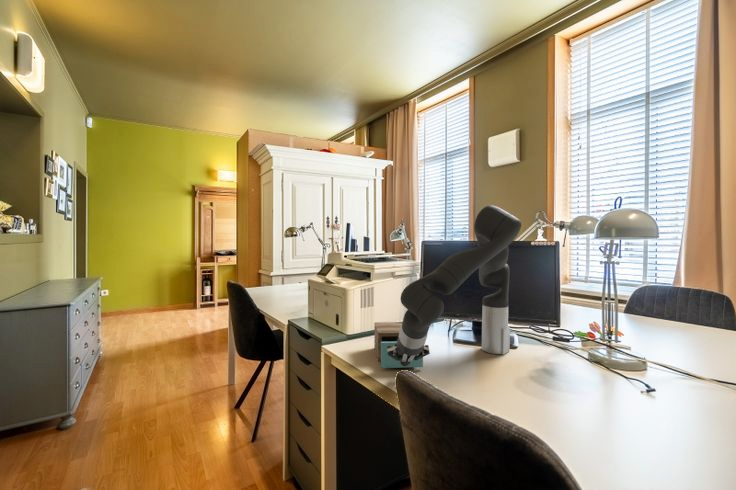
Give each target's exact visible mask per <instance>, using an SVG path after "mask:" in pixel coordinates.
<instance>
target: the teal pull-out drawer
mask: <svg viewBox="0 0 736 490" xmlns="http://www.w3.org/2000/svg"><path fill="white" fill-rule="evenodd" d="M396 343H397V341H394V342H381V361H380V368H381V369H391V368H392V369H397V368H399V369H400V368H401V369H402V368H423V367H424V357H422V358H420V359H418V360H414V359H412V361H410V364H408V366H402V365H401V363H400V361H397V360H395V359H393V358H392V357H390V356H389V355H388V352H387V346H391V347H394V346H395V344H396ZM418 355H419V354H417V356H418Z"/></svg>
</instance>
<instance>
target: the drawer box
mask: <svg viewBox="0 0 736 490" xmlns="http://www.w3.org/2000/svg"><path fill="white" fill-rule="evenodd" d="M402 323H403V321H395V322H394V321H392V322H391V321H389V322H388V321H387V322H383V321H379V322H374V342H373V343H374V346H373V347H374V351H375V355H376V358H377V359H378V360H377V359H376V360H377V362H378V361H380V362H381V342H394V341H397V340H398V336H399V330H400V327H401V325H402Z"/></svg>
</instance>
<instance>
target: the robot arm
mask: <svg viewBox="0 0 736 490" xmlns="http://www.w3.org/2000/svg"><path fill="white" fill-rule="evenodd" d="M521 228H522V221H521V220H520V219H519V218H517V216H514V215H513V214H511V213H509V212H508V211H506V210H504V209H503V208H501V207H499V206H496V205H494V204H493V205H491V204H490V205H486V206H484V207H483V208H482V209H480V211H479V212H478V213H477V215H476V217H475V220H474V224H473V229H474V234H475V237H476V240H477V246H478V247H474V248H470V249H466V250H461V251H458V252H456V253H453V254H451V255H450V256H448V257H447V258H445V260H444V261H443V262H441V264H440V265H439V266H437V268H436V269H434V270H433V271H431V272H430V273H428V274H427V275H424V276H422V277H421V278H419V279H416V280H414V281H413V282H411V283H409V284H408V285H407V286H406V287H404V288H403V290H402V292H401V294H400V303H401V305H402V306H403V307H405V308H406V309H407V310H406V311H405V312H404V315H403V318H402V322H403V323H402V325H401V327H400V330H399V336H398V340H397V343H396V344H395V346H394V347H391V346H387V352H388V355H389V356H390V357H392V358H393V359H395V360H397V361H400V363H401V365H402V366H408V364H410V361H412V359H414V360H418V359H420V358H422V357H423V358H424V357H426V356H428V355H430V354H431V353H430V348H429V345H428V344H426V341H427V338H428V332H429V329H430V327H431V325H432V324H433V323H434V322H436V321H437V320H438V319H439V318H440V317H441V315H443V313H444V309H445V305H444V302H443V300H442V299H441V298H440V296H438V295H436V294H435V293H434V292H433V291H435V292H438V293H440V294H442V295H445V296H447V295H449V296H450V295H451V294H453V293H454V292H456V290H457V289H458V288H459V287H460V286H461V285H462V284H464V282H465V281H466V280H467V279H468V278H469V277H470V276H471V275H472V274H473V273H474V272H476V271H477V270H478V279H479V283H480V285H481V286H482V287H485V288H486V287H487V288H499V290H497V291H496V292H494V293H491V294H488V295H485V296H483V297H482V301H481V302H482V306H481V307H482V314H481V315H482V316H481V350H482V351H484V352H486V353H488V354H492V355H501V356H502V355H503V356H504V355H506V354H507V353H508V352H509V351H510V347H511V346H510V343H511V342H510V339H511V334H510V333H511V326H510V325H509V291H510V276H511V275H510V274H511V272H510V271H511V270H510V266H509V264H508V260H509V253H510V249H509V248H510V247H509V246H510V244H512V242H513V241H514V240H515V239H516V238H517V236H518V235H519V233H520V231H521ZM417 354H419V355H418V356H417Z"/></svg>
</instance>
